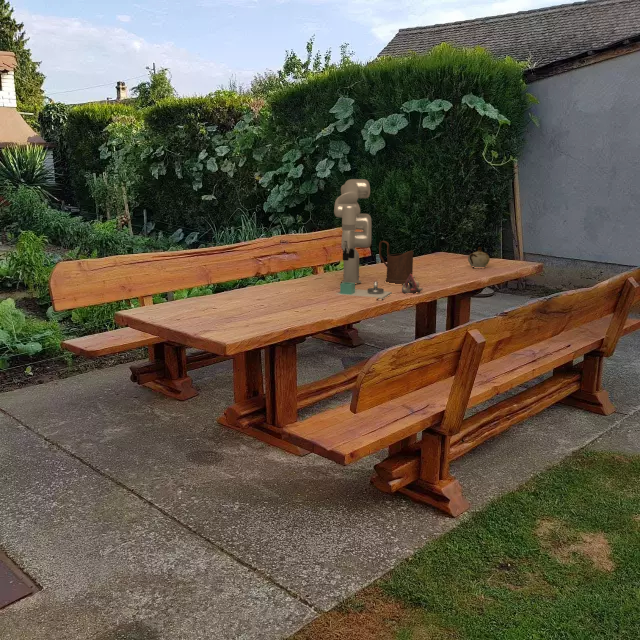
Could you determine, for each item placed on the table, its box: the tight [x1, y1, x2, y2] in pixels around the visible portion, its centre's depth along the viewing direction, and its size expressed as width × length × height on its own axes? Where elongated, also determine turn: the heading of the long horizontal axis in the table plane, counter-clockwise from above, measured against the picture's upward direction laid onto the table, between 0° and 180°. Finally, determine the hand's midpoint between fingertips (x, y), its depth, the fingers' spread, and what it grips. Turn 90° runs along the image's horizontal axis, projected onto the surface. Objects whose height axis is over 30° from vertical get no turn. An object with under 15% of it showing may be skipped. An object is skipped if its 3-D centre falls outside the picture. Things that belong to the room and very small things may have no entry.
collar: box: [339, 282, 356, 296], centre depth 374 cm, size 6×6×6 cm
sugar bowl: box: [467, 246, 491, 268], centre depth 478 cm, size 20×15×15 cm
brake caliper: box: [401, 273, 424, 294], centre depth 383 cm, size 11×11×12 cm
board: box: [335, 288, 393, 300], centre depth 375 cm, size 19×27×2 cm
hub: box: [366, 280, 385, 294], centre depth 375 cm, size 9×9×6 cm
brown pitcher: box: [378, 240, 414, 284], centre depth 417 cm, size 18×24×25 cm
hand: (348, 259), depth 370 cm, fingers open, 9 cm apart
